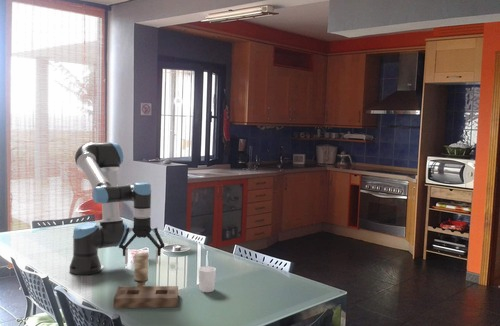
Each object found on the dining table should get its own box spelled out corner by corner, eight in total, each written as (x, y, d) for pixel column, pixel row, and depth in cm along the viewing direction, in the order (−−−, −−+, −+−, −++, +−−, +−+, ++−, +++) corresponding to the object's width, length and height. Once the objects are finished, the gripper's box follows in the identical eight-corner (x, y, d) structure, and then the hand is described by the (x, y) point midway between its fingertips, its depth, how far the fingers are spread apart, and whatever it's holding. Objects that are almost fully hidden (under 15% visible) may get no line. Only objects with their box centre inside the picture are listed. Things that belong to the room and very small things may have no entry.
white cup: (198, 286, 233) (198, 266, 232) (215, 286, 233) (215, 266, 232) (197, 292, 225) (198, 271, 224) (215, 293, 226) (216, 271, 225)
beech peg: (133, 291, 224) (133, 256, 222) (134, 286, 230) (135, 252, 228) (147, 291, 225) (147, 256, 223) (148, 286, 231) (148, 252, 229)
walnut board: (113, 307, 205) (113, 298, 204) (118, 295, 218) (118, 286, 218) (177, 307, 208) (177, 297, 207) (178, 294, 222) (178, 286, 221)
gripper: (112, 218, 219) (112, 265, 221) (169, 218, 222) (169, 265, 224) (115, 215, 226) (114, 260, 228) (170, 215, 229) (169, 260, 231)
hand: (141, 262), depth 226 cm, fingers open, 13 cm apart
